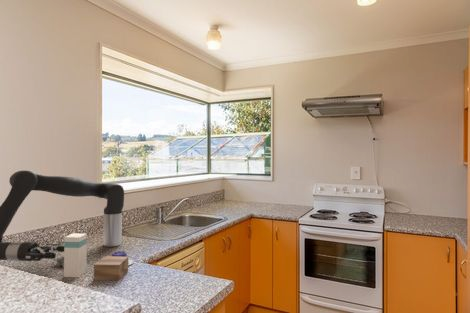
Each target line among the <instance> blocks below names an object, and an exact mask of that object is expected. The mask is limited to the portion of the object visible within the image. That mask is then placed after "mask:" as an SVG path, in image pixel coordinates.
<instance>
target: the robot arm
mask: <svg viewBox="0 0 470 313" xmlns="http://www.w3.org/2000/svg"><path fill="white" fill-rule="evenodd" d="M9 185H10V186H11V189H9V193H8V195H7V196H6V198H5V199H4V201H3V202H2V203H1V205H0V260H1V261H14V262H35V261H36V262H39V261H41V260H45V259H49V260H50V259H57V258H56V256H57V254H56V253H59V252H60V253H64V245H61V243H45V245H39V243H37V242H36V241H15V242H13V241H11V242H10V241H4V242H3V238H4V234H5V233H6V231H7V230H8V228H9V226H10V225H11V222H12V220H13V218H14V217H15V215H16V213H17V212H18V209H20V207H21V206H22V204H23V202H24V201H25V199H26V198H27V197H28V196H29V195H30V193H31V192H32V191H35V192H36V191H37V192H38V191H39V192H48V193H51V194H56V195H60V196H66V197H78V198H79V197H80V198H81V197H97V198H101V199H105V200H106V201H107V202H106V206H105V207H104V208H103V238H102V239H103V244H102V245H103V246H104V247H107V248H108V247H110V248H111V247H117V246H121V245H122V232H123V230H122V229H123V228H122V227H123V226H122V225H123V222H122V221H123V209H124V203H125V190H124V188H123V187H124V186H122V185H121V184H118V183H114V182H113V183H111V182H108V183H107V182H106V183H105V182H95V181H94V182H93V181H90V180H88V179H84V178H78V177H71V176H60V175H59V176H56V175H53V176H51V175H42V174H38V173H35V172H33V171H31V170H18V171H15V172H14V173H12V174H11V176H10V177H9Z"/></svg>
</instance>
